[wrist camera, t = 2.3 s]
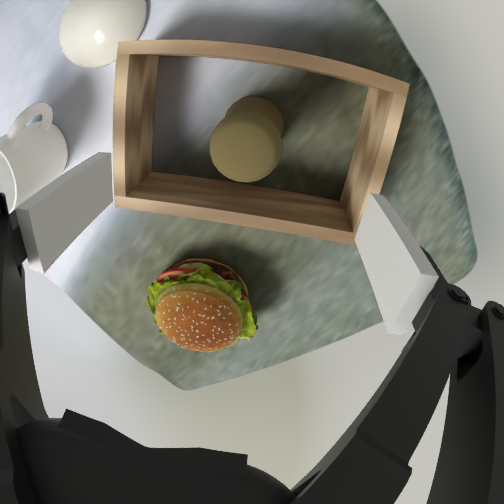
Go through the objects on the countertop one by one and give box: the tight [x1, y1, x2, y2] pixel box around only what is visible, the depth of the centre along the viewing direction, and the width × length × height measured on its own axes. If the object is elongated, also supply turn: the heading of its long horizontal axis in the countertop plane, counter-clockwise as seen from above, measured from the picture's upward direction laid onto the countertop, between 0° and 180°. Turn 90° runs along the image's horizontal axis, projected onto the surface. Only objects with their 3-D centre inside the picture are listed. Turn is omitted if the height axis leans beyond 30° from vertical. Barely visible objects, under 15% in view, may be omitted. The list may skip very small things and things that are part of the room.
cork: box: [210, 96, 284, 182], centre depth 24 cm, size 6×6×11 cm
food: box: [146, 259, 258, 352], centre depth 38 cm, size 14×14×8 cm
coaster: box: [59, 0, 147, 68], centre depth 22 cm, size 11×11×1 cm
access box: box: [113, 40, 410, 245], centre depth 26 cm, size 15×23×7 cm, turn 82°
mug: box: [0, 103, 68, 214], centre depth 26 cm, size 12×8×10 cm
